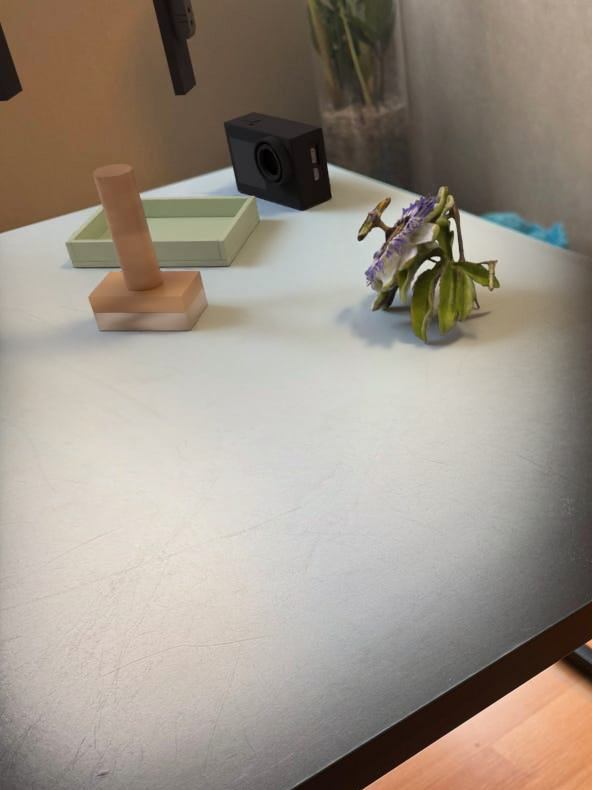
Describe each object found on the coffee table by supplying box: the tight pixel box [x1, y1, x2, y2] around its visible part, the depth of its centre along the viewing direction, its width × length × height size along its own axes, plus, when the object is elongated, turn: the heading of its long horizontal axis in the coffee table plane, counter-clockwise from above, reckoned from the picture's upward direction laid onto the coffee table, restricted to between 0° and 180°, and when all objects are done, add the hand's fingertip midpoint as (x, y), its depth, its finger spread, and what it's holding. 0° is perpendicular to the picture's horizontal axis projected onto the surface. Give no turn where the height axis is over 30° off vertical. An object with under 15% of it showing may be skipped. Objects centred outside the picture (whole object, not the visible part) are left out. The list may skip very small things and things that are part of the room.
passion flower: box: [356, 185, 501, 345], centre depth 82 cm, size 11×11×12 cm
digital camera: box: [223, 111, 333, 211], centre depth 104 cm, size 10×5×7 cm, turn 50°
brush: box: [87, 163, 209, 332], centre depth 82 cm, size 8×5×12 cm, turn 84°
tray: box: [64, 195, 261, 268], centre depth 97 cm, size 15×11×2 cm
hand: (97, 93), depth 74 cm, fingers open, 13 cm apart
